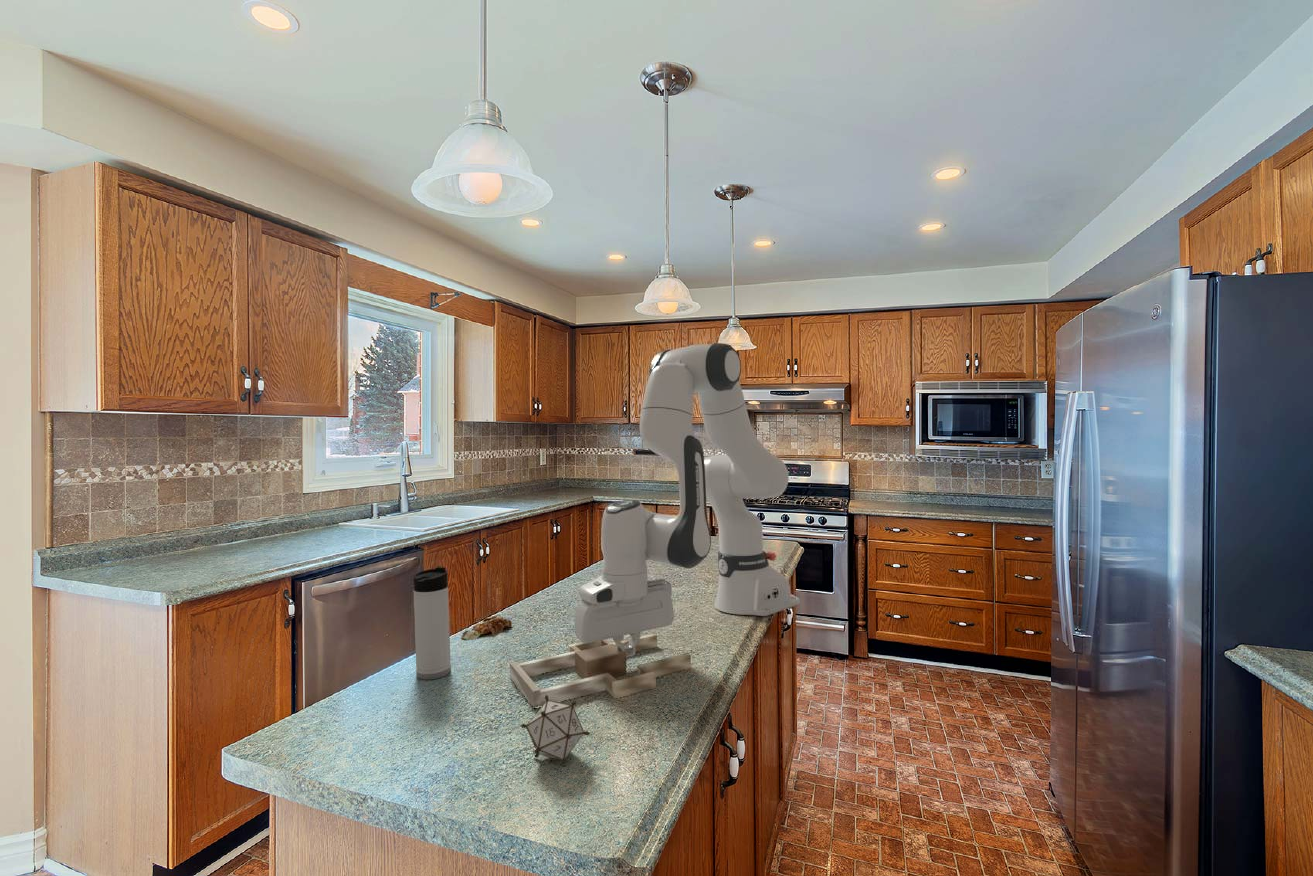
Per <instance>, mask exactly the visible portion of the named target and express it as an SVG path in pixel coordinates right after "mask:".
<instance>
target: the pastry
mask: <svg viewBox="0 0 1313 876" xmlns="http://www.w3.org/2000/svg"><path fill="white" fill-rule="evenodd" d="M481 623H482V624H479V623H477V624H475V625H476V626H475V625H473V627H472V628H471V630H465V632H464V631H463V632H462V635H461V637H460V639H461V640H462V639H464V640H466V641H473V640H477V639H478V638H479V637H480V636H481V635H484V634H488V633H490V632H491V635H492V636H496V635H498V634H501V633H503V631H504V628H505V627H506V626H507V627H508V628H511V627H512V626H513V622H512V621H511V619H509V618H504V617H502V616H501V614H496V615H494V616H493V615H492V616H491V617H486V618H484V619H483V620H482V622H481Z"/></svg>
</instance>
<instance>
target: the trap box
mask: <svg viewBox="0 0 1313 876" xmlns="http://www.w3.org/2000/svg"><path fill="white" fill-rule="evenodd" d="M629 641H630V638H628V639H624V640H623V641H621V642H622V644H623V646H624V645H628V643H629ZM609 644H614V645H615V646H617V645H616V643H615V642H614V641H613V642H611V641H610V640H609V639H605V640H600V641H595V642H591V643H583V642H581V641H579V642H575V643H574V642H573V643H570V644H568V645H567V651H568V652H564V653H560V654H556V655H551V656H547V657H541V658H537V659H534V660H528V661H523V662H520V663H518V662H517V661H511V662H509V680H510V681H511V680H512V681H511V682H512V683H513V682H514V683H513V684H514V686H515V685H516V686H517V687H516V686H515V687H516V688H517V690H518V689H519V690H520V691H519V690H518V691H519V692H520V694H521V695H522V694H523V695H524V696H525V697H524V696H523V695H522V696H523V697H524V698H526V699H527V700H528V701H527V700H526V699H525V700H526V701H527V702H528V703H530V704H531V705H532V706H533V708H535V707H538V706H543V705H544V703H545V702H546V700H545V695H547V696H548V700H550V701H554V702H559V701H563V700H567V701H569V700H568V699H571V700H575V699H578V698H577V697H579V698H582V697H581V696H583V697H585V696H590V695H593V694H597V693H601V692H604V691H606V692H607V693H608V694H610V696H612V698H613V699H615V700H617V699H621V698H624V697H623V696H625V697H628V696H632V695H635V694H634V693H636V694H639V693H643V692H645V691H646V692H647V691H650V690H653V689H657V678H658V677H661V676H662V677H663V676H664V675H669V674H673V673H677V672H679V671H685V670H688V669H691V668H692V661H691V660H692V659H691V658H692V657H691V656H692V655H691V654H690V653H688V652H686V653H682V654H678V655H677V654H676V655H674V656H670V657H665V658H662V659H657V660H654V661H649V662H646V663H642V664H638V665H636V667H637V669H636V670H637V673H636V674H637V675H634V676H630V677H626V678H623V679H619V680H617V679H616V677H612V676H611V675H610V674H609V673H605V674H601V675H597V676H593V677H589V678H585V679H582V678H581V679H577V680H573V681H569V682H565V683H562V684H557V685H554V686H550V687H545V688H541V689H540V688H539V686H538V685H537V684H536V683H535V682H534V681H533V680H532V678H531V677H535V676H538V675H542V673H544V674H547V673H546V672H548V673H552V672H556V671H560V670H559V669H561V670H565V669H569V668H572V667H575V652H577V651H582V650H586V649H591V648H595V647H600V646H604V645H609ZM657 647H658V636H657V634H656V633H651V634H646V635H640V639H639V641H638V643H637V645H636V646H635V653H637V652H640V651H641V652H642V651H645V649H646V650H649V649H653V648H657ZM530 676H531V677H530ZM649 689H650V690H649ZM642 691H643V692H642ZM631 694H632V695H631ZM620 697H621V698H620ZM574 698H575V699H574ZM616 698H617V699H616ZM530 704H529V705H530ZM531 705H530V706H531ZM532 706H531V707H532ZM533 708H532V709H533Z"/></svg>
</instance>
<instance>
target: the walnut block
mask: <svg viewBox="0 0 1313 876" xmlns="http://www.w3.org/2000/svg"><path fill="white" fill-rule="evenodd" d="M574 667H575V668H574V669H575V672H576V673H577V674H578V677H579V678H581V679H585V678H589V677H593V676H597V675H601V674H605V673H609V674H610V675H611V676H612V677H614V678H617V677H620V676H624V675H627V670H628V669H627V657H626V653H625V652H624V651H622V650H621V649H619V648H618V647H617V646H615V645H614V644H609V645H604V646H600V647H595V648H591V649H586V650H582V651H577V652H575V666H574ZM576 673H575V674H576ZM577 674H576V675H577Z"/></svg>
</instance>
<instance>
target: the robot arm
mask: <svg viewBox="0 0 1313 876" xmlns="http://www.w3.org/2000/svg"><path fill="white" fill-rule="evenodd" d="M648 372H649V373H648V376H649V377H648V380H647V383H646V387H645V390H644V393H643V399H642V405H641V411H640V418H639V435H640V438H641V440H642V442H643V444H644V445H645V446H646V447H647V448H648V449H649V450H650V451H651V452H653V453H654V454H656V455H658V456H661V457H662V458H664V459H665V460H667V461H669V462H671V463H672V464H673V465H674V467H675V468H676V471H677V473H678V489H679V492H678V493H679V513H678V514H677V515H674V514H664V513H663V514H662V513H657V512H653V511H651V510H649V509H646V508H645V507H644V506H643V504H642V502H641V501H639V500H636V499H635V500H634V499H625V500H618V501H614V502H612V503H610V504H609V505H607V506H606V507H605V509H604V511H603V513H602V519H601V527H600V528H601V530H600V531H601V532H600V541H601V542H600V546H601V547H600V548H601V552H602V556H603V564H602V568H601V575H599V576H598V577H596V578H594V579H593V580H590V581H588V582H586V583H585V584H582V585H581V586H580V587H579V588H578V590H577V591H578V596H579V597H580V600H579V601H578V603H577V605H576V608H575V615H574V635H575V637H576V638H577V639H578V640H579V642H583V643H591V642H595V641H600V640H605V639H607V640H609V639H612V640H613V642H615V643H616V645H617V647H618V648H619V649H621V650H622V651H624V652H625V653H626V658H628V657H632V656H635V655H636V652H635V646H636V645H637V643H638V641H639V639H640V636H641V632H645V631H651V630H656V629H661V628H663V627H669V626H672V624H673V623H674V621H675V613H674V604H673V599H672V594H673V593H672V592H673V591H672V589H673V588H672V584H671V582H670V581H668V580H666V579H665V578H659V579H657V580H648V565H647V561H648V560H649V561H652V562H656V563H657V562H658V563H665V564H671V565H674V566H676V567H682V568H684V569H688V570H689V569H693V568H695V567H697V566H698V565H699V564H701V563H702V561H704V560H705V558H707V556H708V555H709V552H711V551H710V550H711V544H712V538H711V536H712V535H711V531H710V525H709V522H708V521H709V520H708V512H707V511H708V510H707V508H708V507H707V506H708V505H707V502H709V504H710V505H711V508H712V509H713V512H714V514H715V518H716V520H717V521H716V522H717V527H718V540H719V541H718V543H719V547H718V548H719V550H718V552H717V568H718V573H719V575H718V576H719V577H718V587H717V593H716V599H715V603H714V608H715V609H716V610H718V611H721V612H723V613H727V614H731V615H732V614H733V615H743V616H744V615H746V616H747V615H749V616H758V617H760V616H761V617H767V616H770V615H772V614H776V613H779V612H781V611H784V610H788V609H790V608H792V607H796V606H799V605H801V600H800V598H799V597H798V596H795V595H794V594H792V593H791V585H790V582H789V580H788V579H787V577H785V576H784V575H782V573H780V572H779V571H778V570H776V569H775V568H773V566H771V565H770V564H769V563H770V562H769V561H774V562H775V561H776V560H777V554H776V553H775V552H771V551H768V552H765V551H764V546H763V545H764V543H763V541H764V538H763V537H764V536H763V523H762V521H761V520H760V517H759V516H757V514H755V513H753V512H751V511H750V510H749V509H748V507H747V506H746V505H745V502H744V499H751V500H752V499H753V500H754V499H755V500H765V499H772V498H777V497H780V496H781V495H783V493H784V492H785V491H786V489H787V487H788V484H789V480H790V479H789V470H788V468H787V466H786V464H785V463H784V462H783V460H782V459H781V458H779V457H777V456H776V455H774V454H772V452H770V451H769V450H768V449H767V448H766V447H765V446H764V445H763V444H762V443H761V441H760V440H759V438H758V436H756V433H755V432H754V429H753V427H752V424H751V420H750V417H749V412H748V410H747V406H746V399H745V396H744V393H743V389H742V387H741V383H740V381H739V380H740V376H741V373H742V360H741V358H740V355H739V353H738V352H737V350H736V349H735V348H734V347H733V346H732V345H730V344H728V343H721V342H715V343H713V344H711V343H710V344H709V343H708V344H706V343H705V344H704V343H701V344H690V345H689V346H684V347H683V346H682V347H678V348H674V349H666V350H663V351H661V352H658V353H657V354H655V355H654V357H653V359H652V360H651V362H650V364H649V370H648ZM694 395H697V399H698V404H699V409H700V413H701V418H702V420H703V426H704V429H705V433H706V437H707V440H708V441H709V442H710V444H712V446H714V447H716V448H717V449H720V450H721V451H722V452H723V453H725V454H715V455H709V456H707V457H705V455H704V454H705V453H704V449H703V445H702V443H701V441H700V440H699V439H698V438H696V436H695V434H694V429H693V415H694V402H695V401H694V400H695V398H694ZM626 635H627V636H628V635H629V636H630V638H629V639H630V641H629V643H628V645H624V646H623V644H622V642H621V641H623V640H625V638H624V637H625V636H626Z"/></svg>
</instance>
